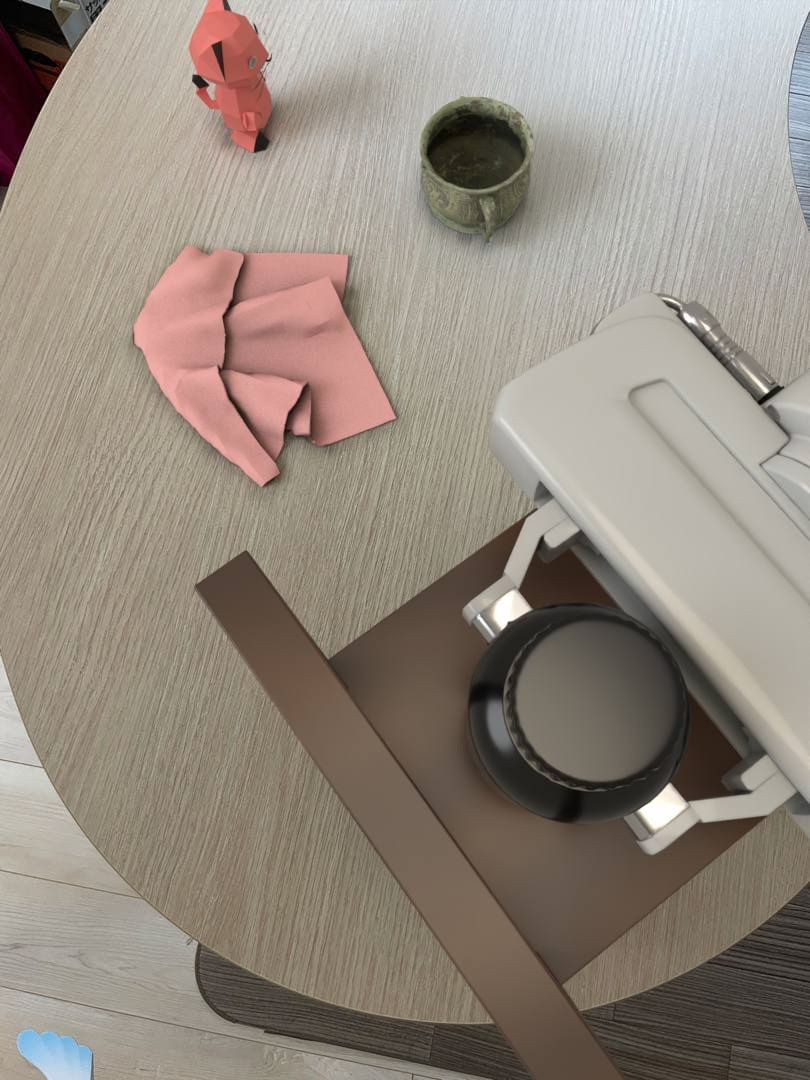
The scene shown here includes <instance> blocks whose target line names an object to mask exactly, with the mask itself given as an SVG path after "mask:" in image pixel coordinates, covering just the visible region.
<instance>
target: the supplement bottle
mask: <svg viewBox="0 0 810 1080" xmlns="http://www.w3.org/2000/svg"><path fill="white" fill-rule="evenodd" d="M464 726H465V737H466V742H467V747H468V750H469V753H470V756H471V759H472V761H473V763H474V765H475V767H476V769H477V771H478V772H479V774H480V775H481V777H482V778H483V780H484V781H485V782H486V783H487V785H488V786H489V787H490V788H491V789H492V790H493V791H494V792H495V793H496V794H498V795H499V796H500V797H501V798H503V799H504V800H505V801H507V802H508V803H510V804H511V805H513V806H515V807H517V808H519V809H521V810H523V811H525V812H528V813H531V814H534V815H537V816H540V817H543V818H546V819H549V820H552V821H556V822H561V823H567V824H576V825H588V824H599V823H605V822H610V821H613V820H617V819H620V818H623V817H625V816H628V815H630V814H632V813H634V812H636V811H638V810H639V809H641V808H642V807H644V806H645V805H647V804H648V803H650V802H651V801H652V800H653V799H654V798H656V797H657V796H658V795H659V794H660V793H661V792H662V791H663V790H664V789H665V787H666V786H667V785H668V784H669V782H670V781H671V780H672V778H673V777H674V775H675V773H676V772H677V770H678V768H679V766H680V764H681V762H682V760H683V757H684V754H685V752H686V748H687V744H688V741H689V735H690V727H691V708H690V700H689V694H688V690H687V686H686V683H685V680H684V677H683V674H682V672H681V670H680V668H679V666H678V664H677V662H676V660H675V658H674V657H673V655H672V654H671V652H670V651H669V649H668V648H667V647H666V645H665V644H664V643H663V642H662V641H661V640H660V638H659V637H658V636H657V635H656V634H655V633H654V632H653V631H651V630H650V629H649V628H648V627H647V626H645V625H644V624H643V623H641V622H640V621H638V620H637V619H635V618H634V617H632V616H630V615H628V614H626V613H624V612H622V611H620V610H617V609H615V608H612V607H609V606H606V605H602V604H597V603H592V602H584V601H568V602H559V603H553V604H549V605H545V606H541V607H539V608H536V609H534V610H531V611H529V612H527V613H525V614H523V615H521V616H520V617H518V618H517V619H515V620H514V621H512V622H511V623H510V624H508V625H507V626H506V627H505V628H504V629H503V630H502V631H501V632H499V633H498V634H497V636H496V637H495V638H494V639H493V640H492V641H491V643H490V644H489V645H488V647H487V648H486V650H485V651H484V653H483V654H482V656H481V658H480V660H479V662H478V664H477V666H476V669H475V671H474V674H473V677H472V680H471V684H470V689H469V694H468V698H467V703H466V708H465V721H464Z"/></svg>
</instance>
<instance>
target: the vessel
mask: <svg viewBox="0 0 810 1080" xmlns="http://www.w3.org/2000/svg"><path fill="white" fill-rule="evenodd" d="M426 121H427V122H426V123H425V125H424V127H423V129H422V131H421V133H420V140H419V155H420V159H421V161H420V177H419V181H420V182H419V183H420V187H421V189H422V192H423V193H424V196H425V197H426V199H427V204H428V206H429V208H430V209H431V212H432V214H433V216H434V217H435V218H436V219H437V220H438V221H439V222H441V224H443V225H444V226H446V227H447V228H450V229H452V230H454V231H456V232H459V233H463V234H467V235H481V234H482V239H483V242H484V243H485V244H489V243H490V238H492V237H494V234H495V230H496V229H498V228H500V227H502V226H503V225H504V224H505V223H506V222H507V221H508V220H509V219H511V217H513V216H514V214H515V212H516V210H517V208H518V206H519V205H520V203H521V202H522V201H523V198H524V197H525V194H526V192H527V190H528V187H529V185H530V182H531V160H532V158H533V156H534V142H535V141H534V134H533V131H532V129H531V127H530V125H529V123H528V122H527V120H526V118H525V116H524V115H523V114H521V112H520V111H518V110H516V109H515V108H514V107H513V106H511V105H510V104H509V103H505V102H502V101H500V100H497V99H495V98H491V97H486V96H485V97H484V96H464V95H461V96H460V98H457V99H455V100H452V101H450V102H448V103H446V104H445V105H443V106H441V107H440V108H439V109H438V110H437V111H436V112H435V113H434V114H433V115H432V116H431V117H430V118H428V120H426Z"/></svg>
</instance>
